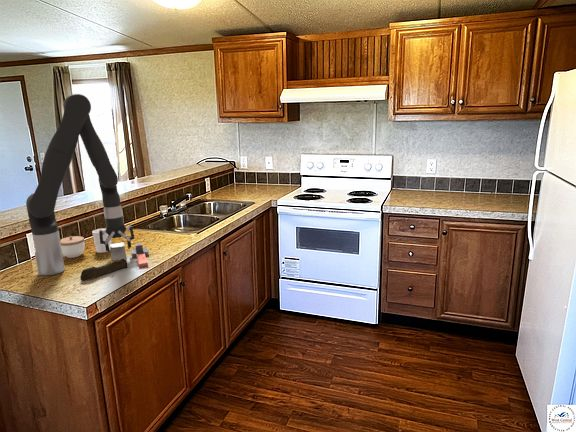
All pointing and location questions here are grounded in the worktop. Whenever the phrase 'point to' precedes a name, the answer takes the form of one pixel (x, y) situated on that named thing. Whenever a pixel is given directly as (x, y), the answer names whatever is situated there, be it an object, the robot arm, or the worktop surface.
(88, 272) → the hand tool
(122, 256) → the white cube
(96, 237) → the white cup
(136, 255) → the red grey toy vehicle
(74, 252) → the lidded jar
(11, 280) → the worktop surface
